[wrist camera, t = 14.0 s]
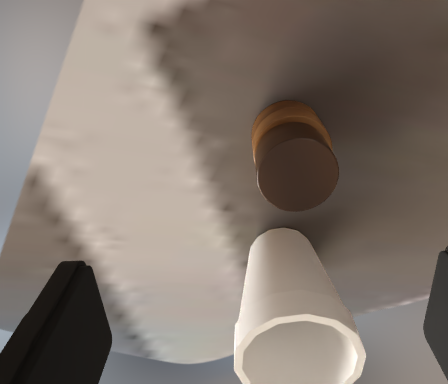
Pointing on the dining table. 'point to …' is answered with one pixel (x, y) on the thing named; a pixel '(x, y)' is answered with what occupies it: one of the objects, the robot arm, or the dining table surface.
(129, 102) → the dining table surface
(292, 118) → the oak chip middle
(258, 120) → the oak base
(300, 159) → the walnut chip
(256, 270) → the foam cup
